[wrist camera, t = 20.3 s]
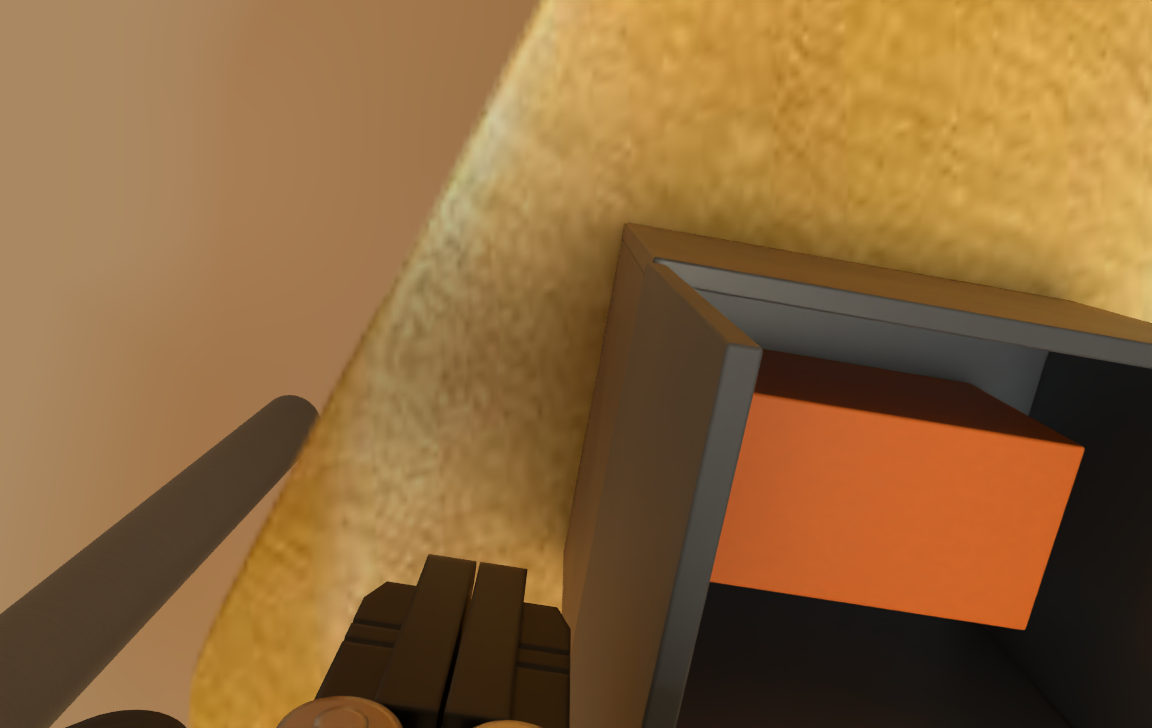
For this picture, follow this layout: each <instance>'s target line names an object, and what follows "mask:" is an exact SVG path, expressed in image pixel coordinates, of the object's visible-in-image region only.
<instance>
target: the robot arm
mask: <svg viewBox="0 0 1152 728" xmlns="http://www.w3.org/2000/svg"><path fill="white" fill-rule="evenodd" d="M475 571H476V561H471V560H464V559H458V558H451V557H445V556H438V555H432V554H429V555H428V557H427V560H426V562H425V565H424V568H423V570H422V573H421V576H420V578H419V581H418V584H417V586H413V585H406V584H400V583H393V582H386V583H384V584H383V585H381V586H380V587H378V588H377V589H375V590H374V591H373V592H371V593H370V594H368V595H367V596H365V597H364V598H363V600H362V603H361V605H360V607H359V609H358V611H357V613H356V615H355V617H354V620H353V623H351V625H350V627H349V629H348V631H347V633H346V635H345V639H344V641H343V642H342V644H341V646H340V648H339V650H338V652H337V654H336V656H335V658H334V660H333V662H332V664H331V666H330V668H329V670H328V672H327V674H326V676H325V679H324V681H323V683H322V685H321V687H320V689H319V691H318V693H317V695H316V697H315V699H314V700H313V701H310V702H307V703H305V704H303V705H301V706H299V707H297V708H296V709H294V710H292V711H291V712H290V713H289V714H287V715H286V716H285V717H284V718H283V719H282V721H281V722H280V723H279V724H278V726H277V727H276V728H570V651H571V629H570V627H569V625H568V624H567V622H566V621H565V619H564V618H563V616H562V614H561V613H560V611H559V610H558V608H557V607H551V606H544V605H538V604H531V603H525V602H524V594H525V586H526V577H527V569H523V568H517V567H510V566H504V565H497V564H491V563H485V562H480V565H479V570H478V574H477V578H476V582H475V586H474V590H473V585H474V578H475ZM472 591H473V595H472ZM471 598H472V599H471ZM66 728H186V727H185V726H184V725H183V724H182V723H181V722H179V721H178V720H176V719H175V718H173V717H171V716H169V715H166V714H163V713H159V712H154V711H148V710H124V711H116V712H111V713H106V714H102V715H98V716H95V717H92V718H89V719H86V720H84V721H81V722H79V723H76V724H74V725H71V726H69V727H66Z"/></svg>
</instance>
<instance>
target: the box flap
mask: <svg viewBox="0 0 1152 728" xmlns="http://www.w3.org/2000/svg"><path fill="white" fill-rule="evenodd" d="M762 355H763V349H762V348H761V347H760V346H759V345H758V344H756V343H755V342H754V341H753V340H752V339H751V338H750V337H748V336H747V335H746V334H745V333H744V332H743V331H741V330H740V329H739V328H738V327H737V326H736V325H735V324H733V323H732V322H731V321H730V320H729V319H728V318H726V317H725V316H724V315H723V314H722V313H721V312H720V311H718V310H717V309H716V308H715V307H714V306H713V305H711V304H710V303H709V302H708V301H707V300H706V299H705V298H703V297H702V296H701V295H700V294H699V293H698V292H697V291H695V290H694V289H693V288H692V287H691V286H690V285H688V284H687V283H686V282H685V281H684V280H683V279H682V278H680V277H679V276H678V275H677V274H676V273H675V272H673V271H672V270H671V269H670V268H669V267H668V266H666V265H663V264H657V263H652V262H648V263H647V264H646V267H645V272H644V277H643V283H642V288H641V293H640V298H639V303H638V308H637V314H636V319H635V324H634V329H633V334H632V339H631V345H630V350H629V355H628V360H627V365H626V370H625V376H624V381H623V386H622V391H621V396H620V401H619V407H618V412H617V417H616V422H615V427H614V432H613V438H612V443H611V448H610V453H609V458H608V463H607V468H606V474H605V479H604V484H603V489H602V494H601V499H600V505H599V510H598V515H597V520H596V525H595V530H594V536H593V541H592V546H591V551H590V556H589V561H588V567H587V572H586V577H585V582H584V587H583V592H582V598H581V603H580V608H579V613H578V618H577V623H576V629H575V634H574V639H573V644H572V649H571V654H570V728H676V725H677V720H678V716H679V712H680V707H681V703H682V699H683V695H684V690H685V686H686V682H687V677H688V673H689V669H690V664H691V660H692V656H693V652H694V647H695V643H696V639H697V634H698V630H699V626H700V621H701V617H702V613H703V608H704V604H705V600H706V596H707V591H708V587H709V583H710V578H711V574H712V570H713V565H714V561H715V557H716V553H717V548H718V544H719V540H720V535H721V531H722V527H723V522H724V518H725V514H726V510H727V505H728V501H729V497H730V492H731V488H732V484H733V479H734V475H735V471H736V467H737V462H738V458H739V454H740V449H741V445H742V441H743V436H744V432H745V428H746V424H747V419H748V415H749V411H750V406H751V402H752V398H753V393H754V389H755V385H756V381H757V376H758V372H759V368H760V363H761V359H762Z"/></svg>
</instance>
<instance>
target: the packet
mask: <svg viewBox="0 0 1152 728" xmlns="http://www.w3.org/2000/svg"><path fill="white" fill-rule="evenodd" d="M1083 453H1084V447H1083V446H1081V445H1079V444H1078V443H1076V442H1074V441H1072V440H1070V439H1069V438H1067V437H1065V436H1063V435H1061V434H1060V433H1058V432H1056V431H1054V430H1052V429H1051V428H1049V427H1047V426H1045V425H1043V424H1042V423H1040V422H1038V421H1036V420H1035V419H1033V418H1031V417H1029V416H1027V415H1026V414H1024V413H1022V412H1020V411H1018V410H1017V409H1015V408H1013V407H1011V406H1009V405H1008V404H1006V403H1004V402H1002V401H1000V400H999V399H997V398H995V397H993V396H991V395H990V394H988V393H986V392H984V391H983V390H981V389H979V388H977V387H975V386H974V385H972V384H970V383H965V382H959V381H953V380H947V379H941V378H935V377H929V376H923V375H917V374H911V373H905V372H899V371H893V370H887V369H881V368H875V367H869V366H863V365H857V364H851V363H844V362H838V361H832V360H826V359H820V358H814V357H808V356H802V355H796V354H790V353H784V352H778V351H772V350H766V349H763V355H762V359H761V363H760V368H759V372H758V376H757V381H756V385H755V389H754V393H753V398H752V402H751V406H750V411H749V415H748V419H747V424H746V428H745V432H744V436H743V441H742V445H741V449H740V454H739V458H738V462H737V467H736V471H735V475H734V479H733V484H732V488H731V492H730V497H729V501H728V505H727V510H726V514H725V518H724V522H723V527H722V531H721V535H720V540H719V544H718V548H717V553H716V557H715V561H714V565H713V570H712V574H711V578H710V582H714V583H721V584H727V585H734V586H740V587H747V588H753V589H760V590H766V591H773V592H779V593H786V594H792V595H799V596H805V597H811V598H818V599H824V600H831V601H837V602H844V603H850V604H857V605H863V606H870V607H876V608H883V609H889V610H896V611H902V612H909V613H915V614H921V615H928V616H934V617H941V618H947V619H954V620H960V621H967V622H973V623H980V624H986V625H993V626H999V627H1006V628H1012V629H1019V630H1025V629H1026V626H1027V623H1028V620H1029V617H1030V614H1031V611H1032V608H1033V605H1034V602H1035V599H1036V596H1037V593H1038V590H1039V587H1040V584H1041V581H1042V578H1043V575H1044V572H1045V569H1046V566H1047V562H1048V559H1049V556H1050V553H1051V550H1052V547H1053V544H1054V541H1055V538H1056V535H1057V532H1058V529H1059V526H1060V523H1061V520H1062V517H1063V514H1064V511H1065V508H1066V505H1067V502H1068V499H1069V496H1070V493H1071V490H1072V487H1073V484H1074V481H1075V478H1076V475H1077V472H1078V469H1079V466H1080V463H1081V460H1082V457H1083Z"/></svg>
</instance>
